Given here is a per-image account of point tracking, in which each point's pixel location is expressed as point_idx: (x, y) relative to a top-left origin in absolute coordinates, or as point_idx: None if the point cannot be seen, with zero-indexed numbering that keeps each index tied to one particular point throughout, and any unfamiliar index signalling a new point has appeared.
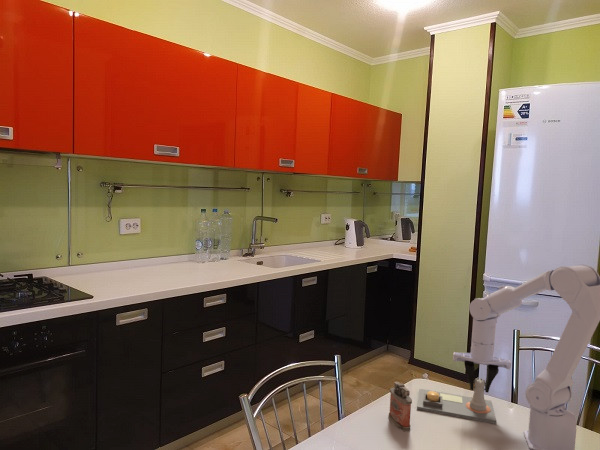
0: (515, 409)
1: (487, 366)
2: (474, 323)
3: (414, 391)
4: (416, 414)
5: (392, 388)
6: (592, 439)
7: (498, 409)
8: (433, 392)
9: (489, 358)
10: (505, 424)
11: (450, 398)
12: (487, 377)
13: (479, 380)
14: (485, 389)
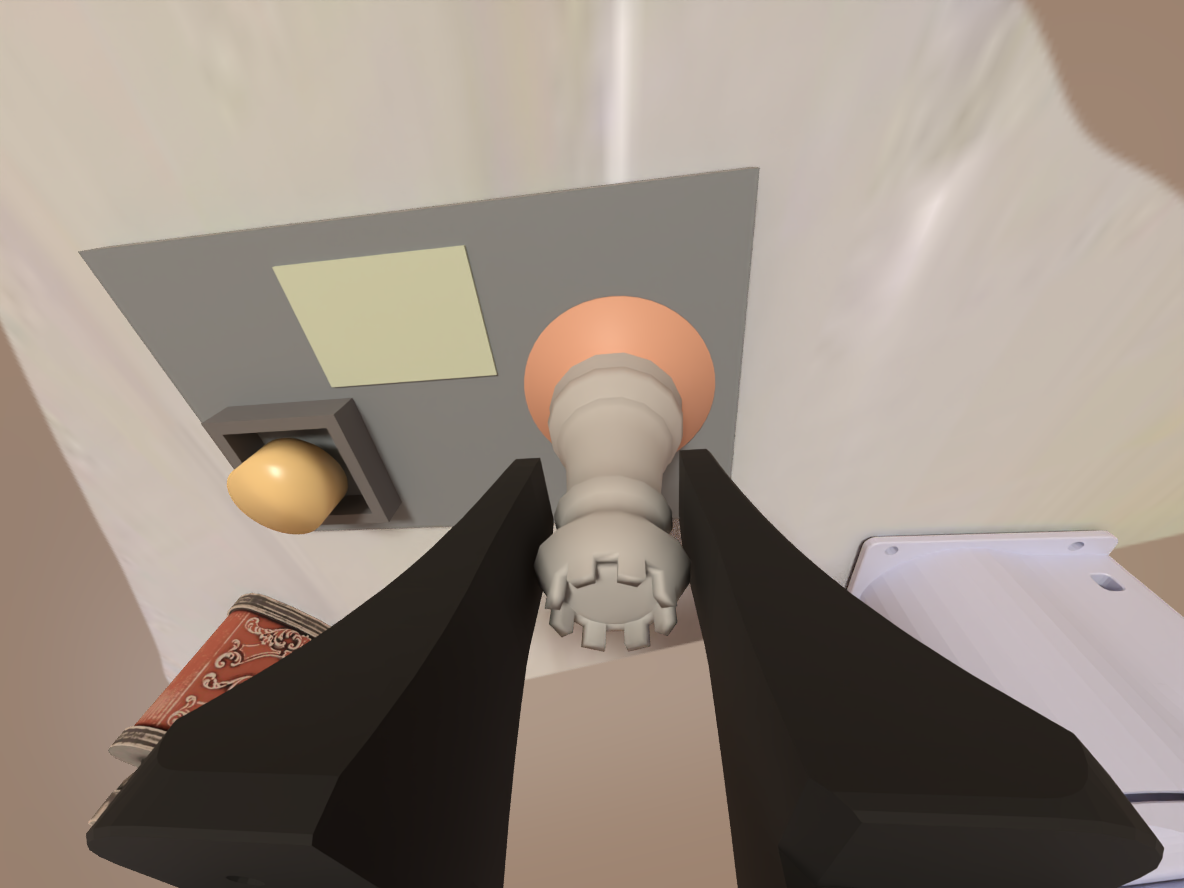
0: (985, 188)
1: (772, 830)
2: None
3: (87, 271)
4: (320, 559)
5: (117, 752)
6: None
7: (794, 279)
8: (264, 482)
9: None
10: (781, 487)
11: (390, 336)
12: (717, 674)
13: (604, 596)
14: (681, 501)
